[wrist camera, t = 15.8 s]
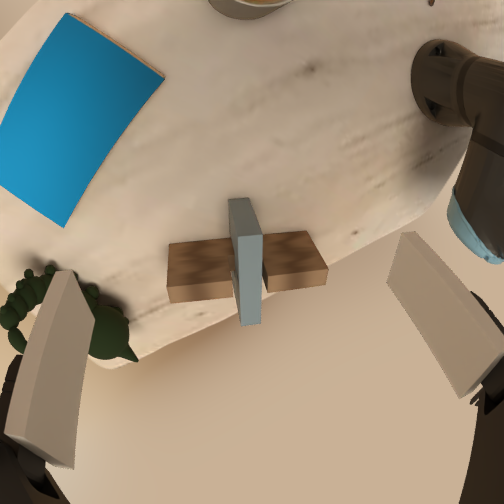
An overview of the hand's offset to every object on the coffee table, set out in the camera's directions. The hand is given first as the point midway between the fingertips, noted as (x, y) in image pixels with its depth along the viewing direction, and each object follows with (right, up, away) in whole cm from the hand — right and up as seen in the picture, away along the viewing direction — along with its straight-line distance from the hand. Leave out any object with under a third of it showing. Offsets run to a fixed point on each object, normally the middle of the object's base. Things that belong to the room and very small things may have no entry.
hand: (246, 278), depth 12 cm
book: (-25, +19, +21) cm, 38 cm away
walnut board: (-2, +2, +38) cm, 38 cm away
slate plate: (-2, +2, +38) cm, 38 cm away
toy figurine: (-30, -6, +38) cm, 49 cm away
